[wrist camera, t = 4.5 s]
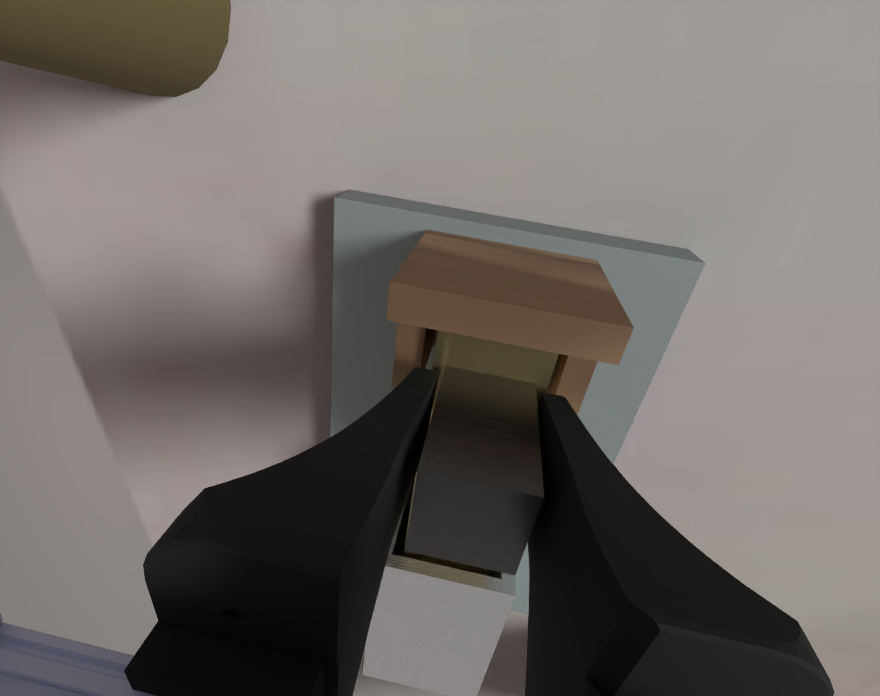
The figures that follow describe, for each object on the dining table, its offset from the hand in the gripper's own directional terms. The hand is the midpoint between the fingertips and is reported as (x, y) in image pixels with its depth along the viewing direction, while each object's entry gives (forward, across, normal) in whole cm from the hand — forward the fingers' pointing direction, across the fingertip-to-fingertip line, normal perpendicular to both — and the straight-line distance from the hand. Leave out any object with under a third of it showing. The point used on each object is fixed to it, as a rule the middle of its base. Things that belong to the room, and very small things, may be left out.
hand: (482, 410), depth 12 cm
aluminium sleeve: (+4, 0, +11) cm, 12 cm away
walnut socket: (+4, 0, -2) cm, 5 cm away
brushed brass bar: (+4, 0, +4) cm, 6 cm away
